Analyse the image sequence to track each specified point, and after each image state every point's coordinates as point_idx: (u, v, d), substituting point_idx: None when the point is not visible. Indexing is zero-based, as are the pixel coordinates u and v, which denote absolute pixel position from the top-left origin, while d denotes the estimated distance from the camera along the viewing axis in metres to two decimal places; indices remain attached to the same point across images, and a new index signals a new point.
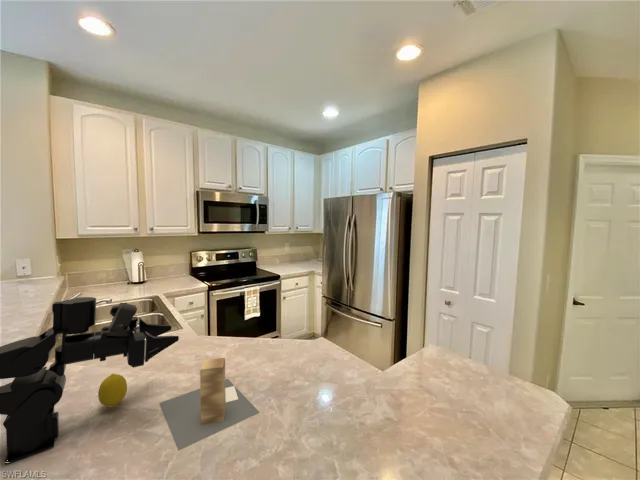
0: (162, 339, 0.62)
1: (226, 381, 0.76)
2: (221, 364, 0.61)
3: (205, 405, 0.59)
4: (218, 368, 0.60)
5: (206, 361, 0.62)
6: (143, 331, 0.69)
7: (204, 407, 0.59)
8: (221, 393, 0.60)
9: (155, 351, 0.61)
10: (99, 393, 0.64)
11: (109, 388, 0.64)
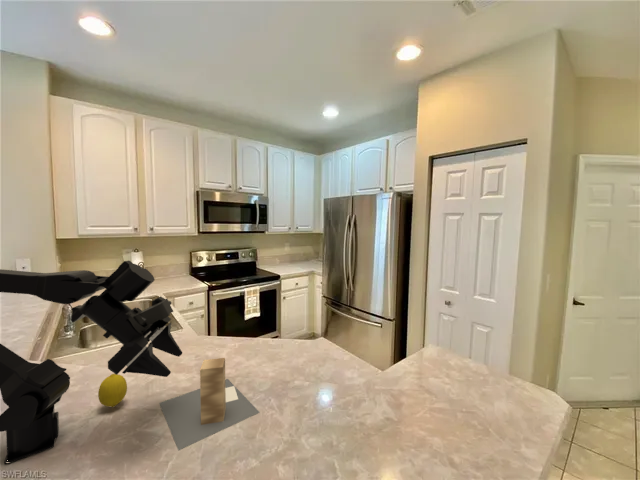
0: (155, 363, 0.53)
1: (226, 381, 0.76)
2: (221, 364, 0.61)
3: (205, 405, 0.59)
4: (218, 368, 0.60)
5: (206, 361, 0.62)
6: (160, 337, 0.63)
7: (204, 407, 0.59)
8: (221, 393, 0.60)
9: (139, 369, 0.52)
10: (99, 393, 0.64)
11: (109, 388, 0.64)
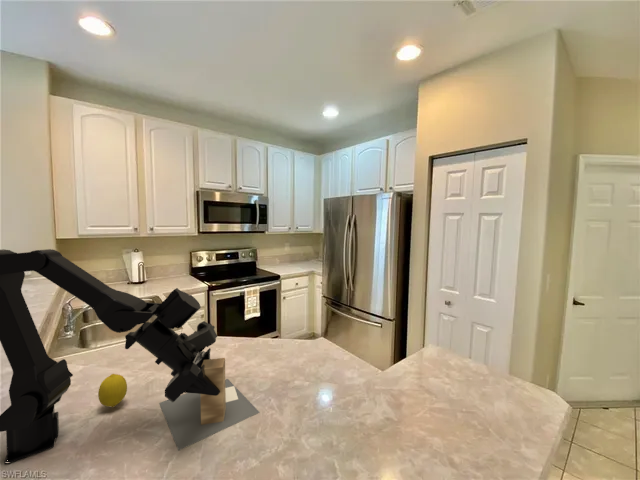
0: (207, 383, 0.58)
1: (226, 381, 0.76)
2: (221, 364, 0.61)
3: (205, 405, 0.59)
4: (218, 368, 0.60)
5: (206, 361, 0.62)
6: (201, 364, 0.64)
7: (204, 407, 0.59)
8: (221, 393, 0.60)
9: (194, 389, 0.57)
10: (99, 393, 0.64)
11: (109, 388, 0.64)
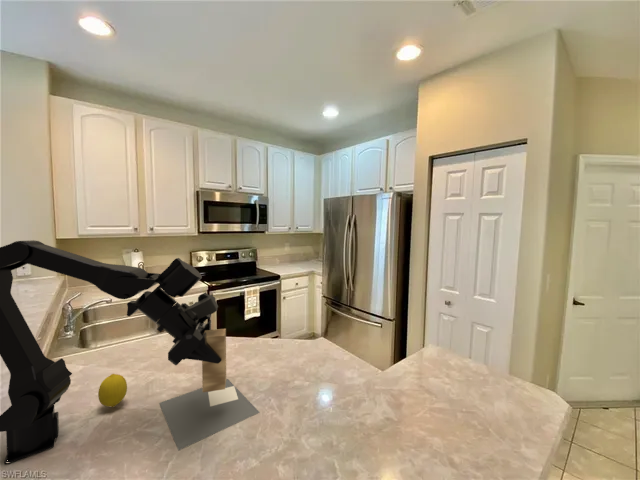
0: (209, 351, 0.59)
1: (226, 381, 0.76)
2: (223, 333, 0.62)
3: (207, 373, 0.60)
4: (220, 336, 0.60)
5: (207, 331, 0.63)
6: (202, 335, 0.64)
7: (206, 375, 0.60)
8: (222, 361, 0.61)
9: (196, 356, 0.57)
10: (99, 393, 0.64)
11: (109, 388, 0.64)
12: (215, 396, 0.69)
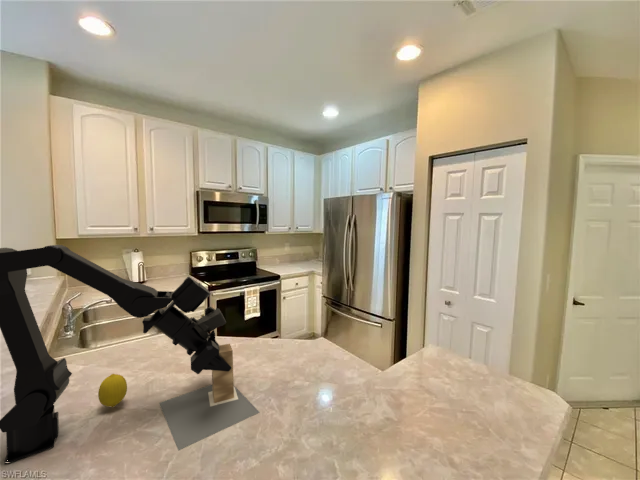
0: (221, 360, 0.65)
1: None
2: (230, 348, 0.69)
3: (218, 385, 0.67)
4: (228, 351, 0.68)
5: None
6: None
7: (217, 387, 0.67)
8: (231, 373, 0.68)
9: (210, 366, 0.63)
10: (99, 393, 0.64)
11: (109, 388, 0.64)
12: None
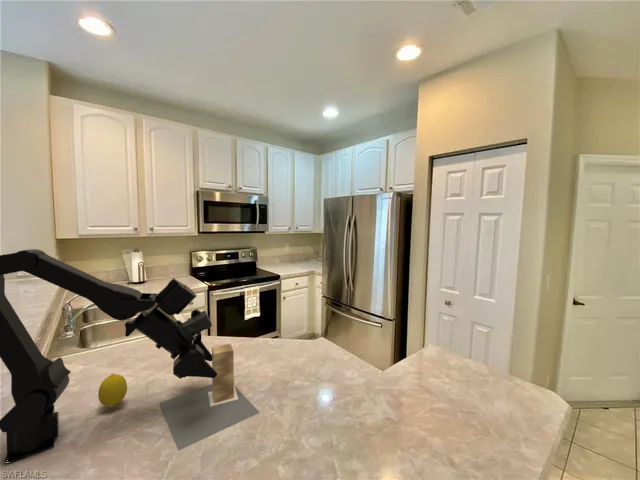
0: (207, 367, 0.62)
1: None
2: (231, 348, 0.69)
3: (218, 385, 0.67)
4: (229, 351, 0.68)
5: (215, 347, 0.70)
6: None
7: (217, 387, 0.67)
8: (232, 373, 0.68)
9: (194, 373, 0.61)
10: (99, 393, 0.64)
11: (109, 388, 0.64)
12: None
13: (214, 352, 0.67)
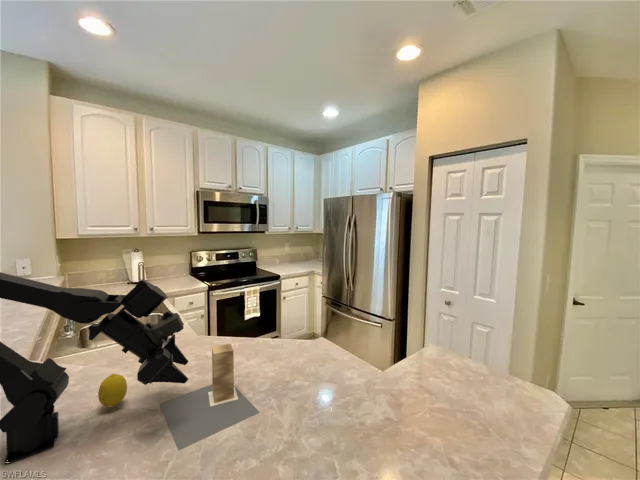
0: (176, 372, 0.60)
1: None
2: (231, 348, 0.69)
3: (218, 385, 0.67)
4: (229, 351, 0.68)
5: (215, 347, 0.70)
6: (167, 348, 0.68)
7: (217, 387, 0.67)
8: (232, 373, 0.68)
9: (162, 378, 0.58)
10: (99, 393, 0.64)
11: (109, 388, 0.64)
12: None
13: (214, 352, 0.67)
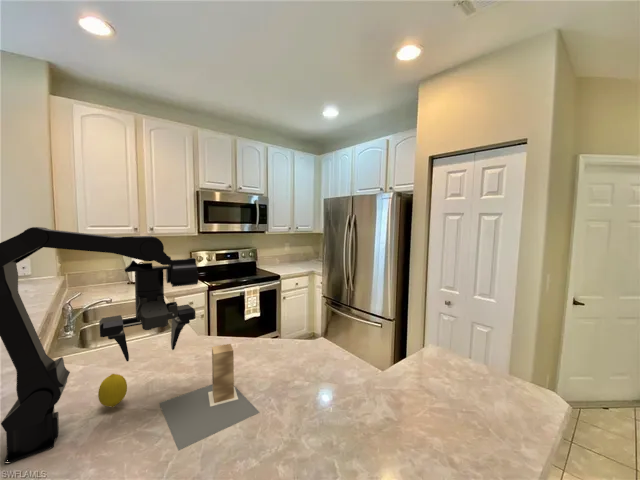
0: (120, 347, 0.61)
1: None
2: (231, 348, 0.69)
3: (218, 385, 0.67)
4: (229, 351, 0.68)
5: (215, 347, 0.70)
6: (174, 324, 0.68)
7: (217, 387, 0.67)
8: (232, 373, 0.68)
9: None
10: (99, 393, 0.64)
11: (109, 388, 0.64)
12: None
13: (214, 352, 0.67)
